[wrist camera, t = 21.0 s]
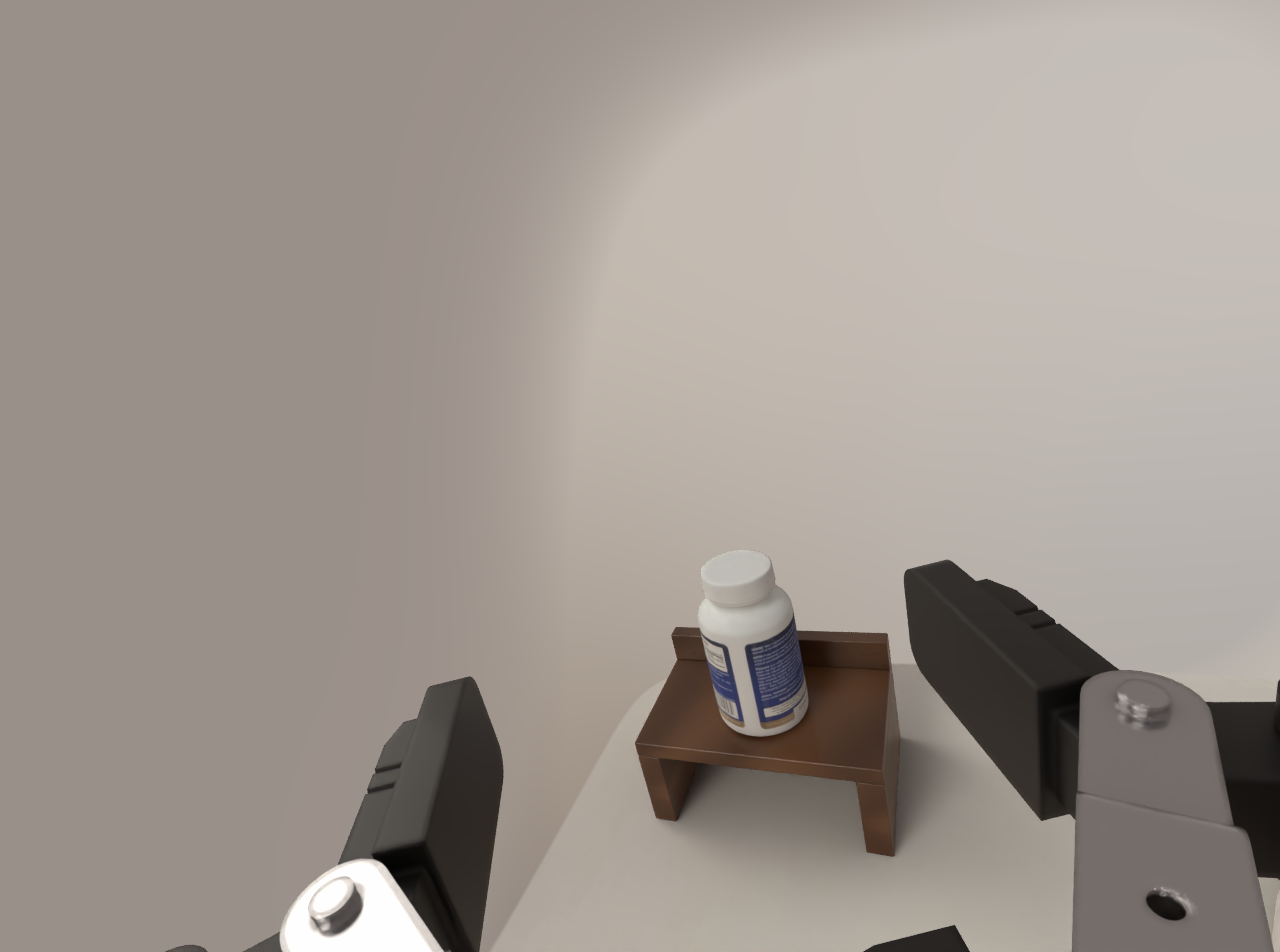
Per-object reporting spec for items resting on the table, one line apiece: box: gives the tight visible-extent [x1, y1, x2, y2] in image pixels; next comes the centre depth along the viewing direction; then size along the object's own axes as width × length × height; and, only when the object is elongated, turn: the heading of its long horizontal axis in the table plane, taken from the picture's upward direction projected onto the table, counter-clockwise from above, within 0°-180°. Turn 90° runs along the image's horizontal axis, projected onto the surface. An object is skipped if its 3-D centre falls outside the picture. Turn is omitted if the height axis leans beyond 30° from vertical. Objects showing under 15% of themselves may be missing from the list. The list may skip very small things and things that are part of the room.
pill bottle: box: [698, 550, 808, 737], centre depth 38 cm, size 5×5×10 cm
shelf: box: [635, 627, 900, 856], centre depth 41 cm, size 14×9×8 cm, turn 68°
